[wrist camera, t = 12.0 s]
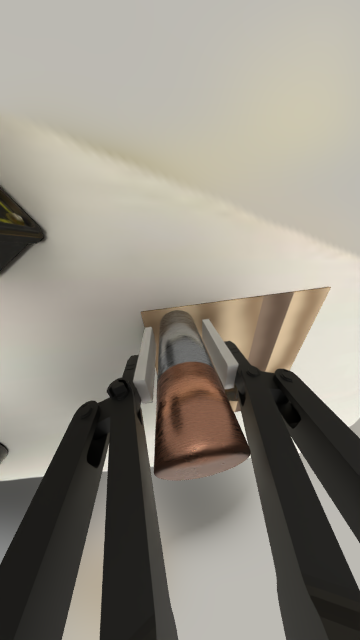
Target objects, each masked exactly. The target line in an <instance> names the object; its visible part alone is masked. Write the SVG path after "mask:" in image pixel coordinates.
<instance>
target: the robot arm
mask: <svg viewBox="0 0 360 640" xmlns="http://www.w3.org/2000/svg"><path fill="white" fill-rule="evenodd" d="M202 339H203V342H204V344H205V346H206V348H207V351H208V353H209V355H210V358H211V360H212V362H213V364H214V367H215V369H216V371H217V373H218V376H219V378H220V380H221V382H222V385H223V387H224V389H230V388H234V385H236V387H237V388H238V389H237V393H236V399H239V404H240V408H241V413H242V417H243V422H244V427H245V431H246V436H247V440H248V445H249V448H250V450H251V459H252V463H253V468H254V473H255V477H256V482H257V487H258V491H259V496H260V500H261V505H262V510H263V514H264V518H265V523H266V528H267V533H268V537H269V542H270V546H271V551H272V555H273V560H274V565H275V570H276V576H277V592H278V600H279V606H280V611H281V616H282V621H283V626H284V631H285V636H286V640H360V590H359V588H358V586H357V584H356V581H355V579H354V577H353V575H352V572H351V570H350V568H349V566H348V564H347V562H346V559H345V557H344V555H343V552H342V550H341V548H340V546H339V543H338V541H337V539H336V537H335V535H334V532H333V530H332V528H331V526H330V523H329V521H328V519H327V517H326V515H325V512H324V510H323V508H322V506H321V503H320V501H319V499H318V497H317V494H316V492H315V490H314V487H313V485H312V483H311V481H310V479H309V476H308V474H307V472H306V470H305V467H304V465H303V463H302V461H301V459H300V456H299V454H298V452H297V449H296V447H295V445H294V443H293V441H292V439H293V440H294V442H295V443H296V445H297V447H298V448H299V450H300V451H301V453H302V454H303V456H304V457H305V459H306V460H307V462H308V464H309V465H310V467H311V468H312V470H313V471H314V473H315V474H316V476H317V478H318V479H319V481H320V482H321V484H322V485H323V487H324V488H325V490H326V491H327V493H328V495H329V496H330V498H331V499H332V501H333V502H334V504H335V505H336V507H337V508H338V510H339V511H340V513H341V515H342V516H343V518H344V519H345V521H346V522H347V524H348V525H349V527H350V529H351V530H352V532H353V533H354V535H355V536H356V538H357V539H358V541H359V543H360V438H359V437H358V436H357V435H356V434H355V433H354V432H353V431H352V430H351V429H350V428H349V427H348V426H347V425H346V424H345V423H344V422H343V421H342V420H341V419H340V418H339V417H338V416H337V415H336V414H335V413H334V412H333V411H332V410H331V409H330V408H329V407H328V406H327V405H326V404H325V403H324V402H323V401H322V400H321V399H320V398H319V397H318V396H317V395H316V394H315V393H314V392H313V391H312V390H311V389H310V388H309V387H308V386H307V385H306V384H305V383H304V382H303V381H302V380H301V379H300V378H299V377H298V376H297V375H295V374H294V373H293V372H291V371H289V370H286V369H277V370H276V371H275V373H271V372H263V371H260V370H259V369H258V368H257V367H255V366H252V365H251V364H250V363H249V362H248V360H247V359H246V358H245V356H244V355H243V354H242V353H241V352H240V350H239V349H238V347H237V346H236V345H235V344H234V343H233V342H231V341H225V342H224V341H223V340H222V338H221V337H220V335H219V334H218V332H217V331H216V329H215V328H214V326H213V325H212V323H211V322H210V320H209V319H204V320H202ZM155 359H156V342H155V338H154V333H153V329H152V327H146V328H145V330H144V335H143V339H142V343H141V348H140V352H139V355H134V356H131V357H130V358H129V359H128V361H127V364H126V367H125V371H124V374H123V377H122V378H119V379H116V380H115V381H113V382H112V383H111V384H110V385H109V387H108V389H107V393H108V395H109V396H110V398H108V399H106V400H104V401H102V402H99V403H97V402H96V401H89V402H86V403H85V404H83V405H82V406H81V407H80V408H79V409H78V410H77V411H76V413H75V414H74V416H73V418H72V420H71V422H70V424H69V426H68V428H67V431H66V433H65V435H64V437H63V439H62V441H61V443H60V445H59V447H58V449H57V451H56V453H55V455H54V457H53V459H52V461H51V463H50V465H49V467H48V469H47V471H46V473H45V475H44V477H43V479H42V482H41V483H40V485H39V487H38V489H37V491H36V493H35V495H34V497H33V499H32V501H31V504H30V506H29V507H28V510H27V512H26V514H25V516H24V518H23V520H22V522H21V524H20V526H19V528H18V530H17V532H16V534H15V536H14V538H13V540H12V542H11V544H10V546H9V548H8V550H7V552H6V554H5V556H4V558H3V560H2V562H1V564H0V640H62V636H63V631H64V627H65V623H66V619H67V615H68V610H69V607H70V603H71V598H72V594H73V590H74V586H75V582H76V578H77V574H78V569H79V565H80V561H81V557H82V553H83V549H84V545H85V541H86V536H87V532H88V528H89V524H90V519H91V516H92V511H93V507H94V503H95V499H96V495H97V491H98V487H99V482H100V478H101V474H102V470H103V466H104V462H105V458H106V453H107V449H108V445H109V458H108V479H107V501H106V520H105V542H104V562H103V582H102V583H103V584H102V603H101V623H100V640H178V636H177V630H176V625H175V620H174V616H173V612H172V608H171V604H170V598H169V592H168V586H167V579H166V573H165V565H164V559H163V552H162V545H161V538H160V532H159V525H158V518H157V511H156V505H155V498H154V491H153V484H152V478H151V471H150V464H149V457H148V450H147V444H146V437H145V430H144V423H143V417H142V410H141V407H140V404H141V401H142V403H143V404H144V403H150V402H153V389H154V374H155ZM291 437H292V438H291ZM7 454H8V452H7V450H6V448H4V447H3V446H2V445H0V464H1V462H2V461H3V460H4V459H5V457H6V456H7Z"/></svg>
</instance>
